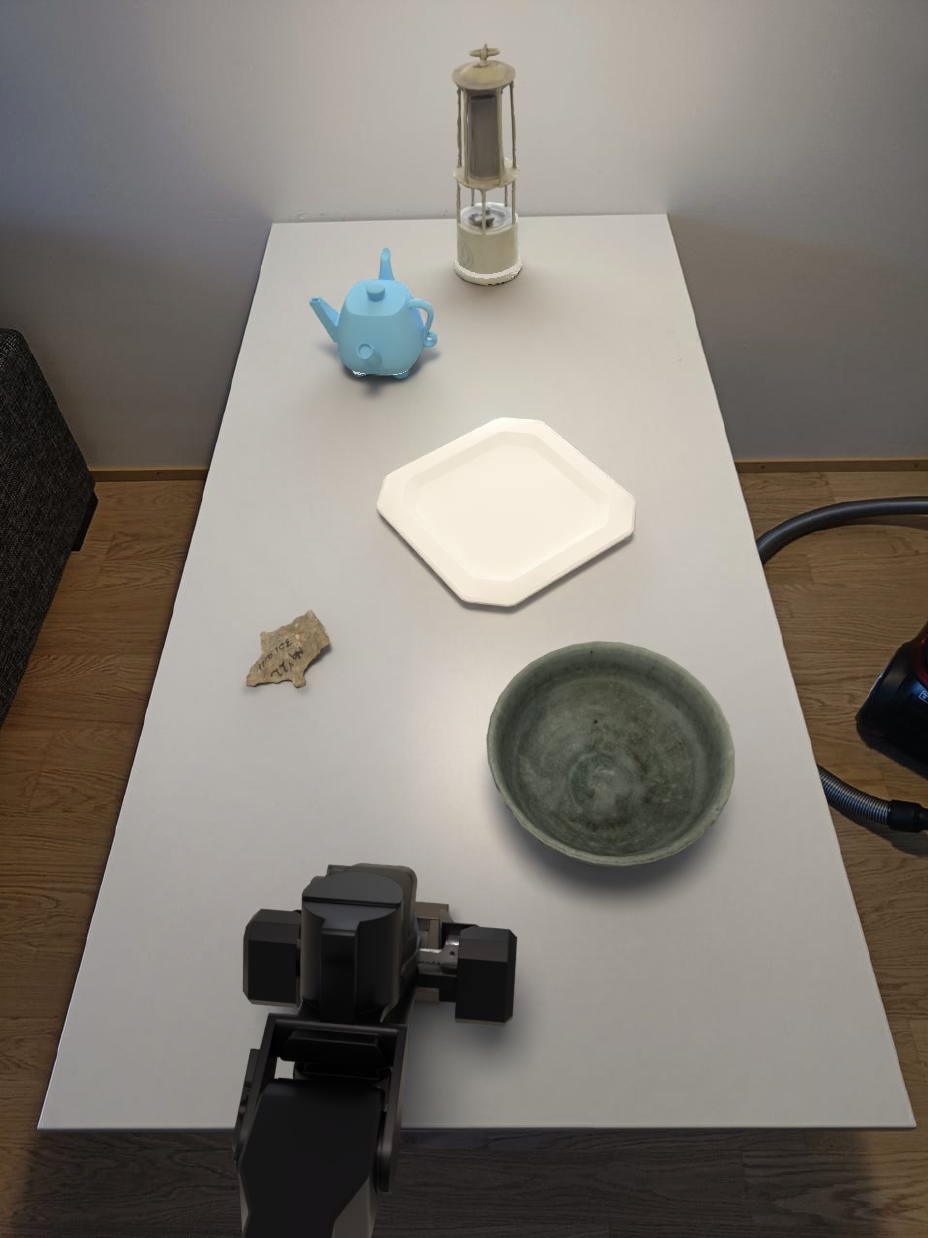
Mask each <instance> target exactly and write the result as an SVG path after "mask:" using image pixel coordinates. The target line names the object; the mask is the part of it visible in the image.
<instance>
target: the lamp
mask: <svg viewBox="0 0 928 1238" xmlns="http://www.w3.org/2000/svg"><path fill="white" fill-rule="evenodd" d="M500 54H501V50H500V49H499V48H497V47H488V43H486V42H485V43H484V45H483V47H482V48H478V49H474V50H469V51H468V55H469V57H474V58H479V60H474V61H469V62H466V63H463V64H461V65H458V66H456V67H455V68H454V69H453V71H452V73H451V80H452V82H453V83H454V84H455V86H456V87H457V89H456V94H457V106H458V108H457V109H458V110H457V114H458V115H457V119H456V125H457V134H456V141H457V142H456V143H457V149H458V153H457V157H458V159H457V164H456V165H455V167H454V169H453V177H454V179H455V181H456V203H455V204H456V258H455V261H454V267H453V268H454V272H455V273H456V274H457V276H458V277H459V278H461V279H462V280H464V281H465V282H469V283H472V284H476V285H482V286H489V285H488V284H492V285H491V286H493V285H496V284H495V283H499V284H503V283H502V282H504V283H507V282H509V281H511V280H513V279H514V278H515V277H517V276H518V275H519V274H511V273H513V272H511V273H509V274H507V275H504V276H501V277H497V278H489V279H484V278H475V277H471V276H468V275H466V274H465V273H463V272H462V271H461V270H459V268H458V267H457V265H456V260H457V261H458V263H459V265H460V266H462V267H463V268H465V269H467V270H469V271H471V272H475V273H477V274H478V273H479V274H493V273H498V272H502V271H504V270H506V269H509V268H510V267H512V266H514V265H515V264H516V263H517V262H518V258H519V259H520V262H519V265H518V267H521V266H522V267H523V263H522V259H521V257H520V253H519V252H520V251H519V249H520V248H519V245H520V243H519V215H518V212H517V211H516V210H517V209H516V203H517V202H516V201H517V200H516V181H517V178H518V176H519V175H520V169H519V166H518V164H517V156H516V151H517V149H516V142H517V129H516V114H515V106H514V87H515V81H514V80H515V78H516V75H517V73H516V69H515V67H514V66H513V65H511V64H509V63H507V62H505V61H500V60H497V59H494V60H493V59H488V58H490V57H496V56H498V55H500ZM522 84H523V85H524V82H522ZM507 87H509V99H510V118H511V144H512V145H511V146H512V147H511V148H512V149H511V150H512V153H511V154H512V159H511V158H510V159H509V158H507V157H505V155H504V145H503V143H504V142H503V101H502V99H503V93H504V90H505V89H506V88H507ZM462 99H463V119H462ZM462 120H463V121H462ZM462 123H463V124H462ZM462 125H463V139H462ZM462 140H463V141H462ZM462 143H463V144H462ZM462 155H463V157H462ZM463 158H464V160H462V159H463ZM461 185H462V186H464V187H465V188H467V189H470V202H471V203H470V205H468V206H466V207H464V208H463V209H462V210H461V190H462V188H461V187H462V186H461ZM509 185H511V206H509ZM460 186H461V187H460ZM497 188H499V189H501V188H504V203H501V202H495V201H487V199H486V198H487V194H486V193H487V192H488V191H492V190H494V189H497ZM475 190H477V191H479V192H480V196H481V202H477V203H475V193H476V192H475ZM517 269H518V268H517ZM521 271H522V269H521V270H520V272H521ZM515 272H518V271H515ZM512 276H515V277H512ZM508 277H509V278H508ZM510 278H512V279H510Z"/></svg>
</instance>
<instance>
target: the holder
mask: <svg viewBox="0 0 928 1238" xmlns="http://www.w3.org/2000/svg"><path fill="white" fill-rule="evenodd" d="M449 905H450V904H449V903H440V902H439V903H438V902H428V901H427V902H426V901H417V900H416V903H415V914H416V918H417V923H418V928H419V931H420V930H421V931H428V935H427V943H426V949H435V950H438V927H439V913H440V910H441V909H444V910H446V911H447V912H448V914H449V915H450V916H451V913H450V906H449ZM414 1002H422V1003H423V1002H424V1003H435V1004H442V1002H441V1001H439V989H436V988H425V987H418V988H417V992H416V996H415V1000H414Z"/></svg>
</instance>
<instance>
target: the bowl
mask: <svg viewBox="0 0 928 1238" xmlns="http://www.w3.org/2000/svg"><path fill="white" fill-rule="evenodd" d="M731 731H732V730H731V726H730V724H729V722H728V721H727V718H726V716H725V714H724V711H723V709H722V707H721V704H719V702H718V701H717V699H716V698H715V697H714V695H712V694H711V692H710V690H708V688H707V687H706V685H704V684H703V683H702V682H701V681H700V680H699V679H698V678H696V676H694V675H693V674H692V673H691V672H690V671H689V670H688V669H686V668H685V667H683V666H682V665H680V664H678V663H677V662H675V661H674V660H673V659H671V658H670V657H668V656H666V655H663V654H661V653H659V652H655V651H653V650H651V649H648V648H646V647H644V646H639V645H633V644H628V643H624V642H620V641H599V640H596V641H587V642H580V643H574V644H570V645H566V646H564V647H561V648H558V649H555V650H552V651H549V652H548V653H545V654H544V655H541V656H540V657H537V658H536V659H534V660H533V661H531V662H529V663H528V664H527V665H526V666H525V667H524V668H522V669H521V670H520V671H519V672H518V673H516V674H515V675H514V676H513V677H512V678H511V680H510V681H509V682H508V684H507V685H506V687H505V688H504V689H503V691H501V692H500V694H499V695H498V698H497V700H496V702H495V705H494V706H493V709H492V711H491V714H490V716H489V721H488V727H487V732H486V738H485V740H486V742H485V743H486V753H487V763H488V766H489V770H490V773H491V776H492V779H493V782H494V785H495V787H496V788H497V790H498V793H499V794H500V797H501V798H502V800H503V803H504V804H505V806H506V808H507V809H508V810H509V811H510V812H511V814H512V815H513V817H515V819H516V820H517V822H519V824H520V825H521V827H523V828H525V830H527V831H528V832H529V833H530V834H531V835H533V836H534V837H535V838H537V839H538V840H539V841H540V842H542V844H544V845H545V846H546V847H547V848H549V849H551V850H553V851H555V852H557V853H559V854H561V855H562V856H565V857H566V858H569V859H571V860H574V861H578V862H581V863H583V864H586V865H587V864H588V865H591V866H594V867H595V866H596V867H609V868H621V867H630V866H636V865H643V864H650V863H653V862H656V861H659V860H662V859H665V858H668V857H670V856H671V857H672V856H674V855H676V854H678V853H680V852H681V851H683V850H684V849H686V848H688V847H689V846H692V844H694V843H695V842H698V841H699V840H700V839H701V838H702V836H704V834H705V833H706V832H708V831H709V830H710V828H711V827H712V826H713V825H714V824H715V823H716V822H717V820H718V819H719V817H720V815H721V813H722V812H723V810H724V808H725V806H726V804H727V803H728V801H729V799H730V795H731V791H732V788H733V784H734V781H735V775H736V774H735V773H736V771H735V770H736V768H735V767H736V766H735V765H736V764H735V762H736V751H735V750H736V749H735V745H734V741H733V737H732V732H731Z"/></svg>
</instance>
